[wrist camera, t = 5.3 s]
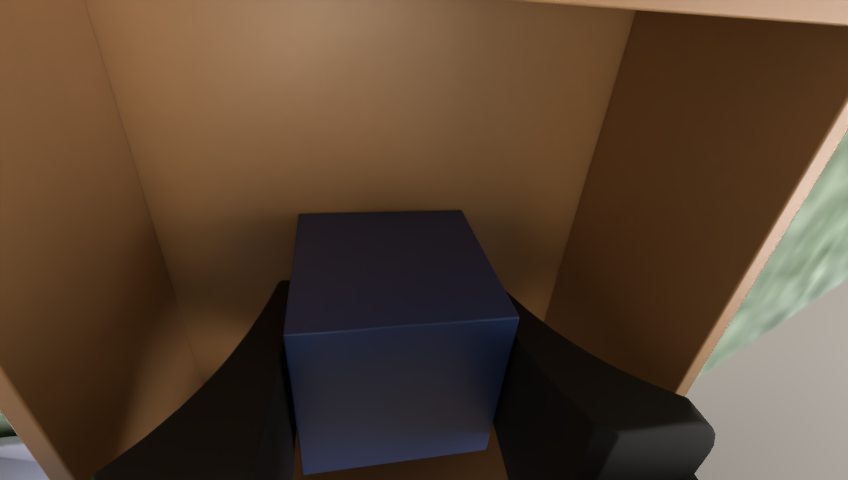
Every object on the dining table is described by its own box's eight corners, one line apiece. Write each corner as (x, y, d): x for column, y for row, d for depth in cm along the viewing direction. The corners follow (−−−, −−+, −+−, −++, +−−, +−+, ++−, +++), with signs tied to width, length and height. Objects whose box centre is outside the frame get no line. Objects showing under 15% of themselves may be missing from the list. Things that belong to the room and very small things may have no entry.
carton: (537, 351, 19) (619, 504, 13) (195, 383, 16) (128, 591, 11) (647, -16, 11) (929, -1, 6) (51, -69, 9) (-394, -128, 3)
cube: (310, 336, 15) (302, 475, 11) (298, 213, 12) (282, 335, 8) (446, 326, 16) (486, 450, 12) (462, 209, 13) (520, 317, 9)
